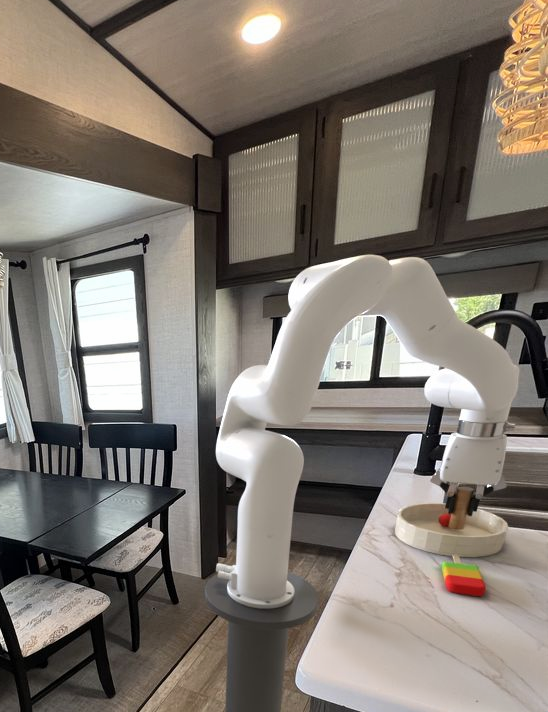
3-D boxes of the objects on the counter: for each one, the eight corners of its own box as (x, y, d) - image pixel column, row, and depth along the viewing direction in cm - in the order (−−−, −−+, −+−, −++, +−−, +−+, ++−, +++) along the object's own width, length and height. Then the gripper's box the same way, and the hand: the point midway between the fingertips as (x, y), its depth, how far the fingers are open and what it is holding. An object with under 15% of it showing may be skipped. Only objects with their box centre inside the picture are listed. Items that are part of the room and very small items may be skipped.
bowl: (391, 547, 100) (395, 528, 99) (397, 516, 115) (400, 499, 113) (506, 564, 90) (513, 543, 88) (497, 527, 105) (503, 509, 103)
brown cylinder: (448, 528, 103) (457, 489, 99) (448, 524, 105) (457, 486, 101) (464, 530, 101) (474, 491, 98) (463, 525, 103) (473, 487, 100)
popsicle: (446, 592, 83) (448, 583, 83) (437, 556, 95) (439, 548, 95) (485, 598, 81) (488, 588, 80) (471, 560, 93) (473, 552, 92)
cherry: (437, 527, 106) (439, 515, 105) (437, 524, 108) (439, 511, 107) (454, 528, 104) (456, 516, 103) (454, 525, 106) (455, 512, 105)
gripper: (531, 426, 93) (506, 512, 100) (432, 423, 101) (415, 502, 109) (536, 434, 87) (509, 524, 95) (431, 431, 96) (414, 513, 103)
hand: (459, 512), depth 102 cm, fingers closed on brown cylinder, 2 cm apart
